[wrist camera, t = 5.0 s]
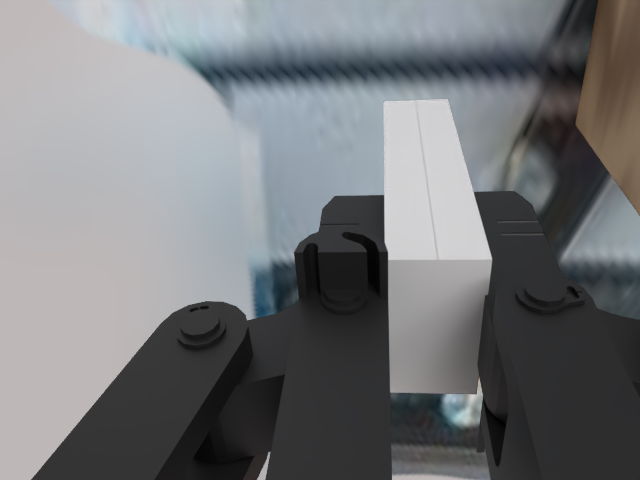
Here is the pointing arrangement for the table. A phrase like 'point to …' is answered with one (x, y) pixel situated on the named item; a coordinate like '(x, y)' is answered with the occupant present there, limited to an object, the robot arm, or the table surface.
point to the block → (614, 94)
